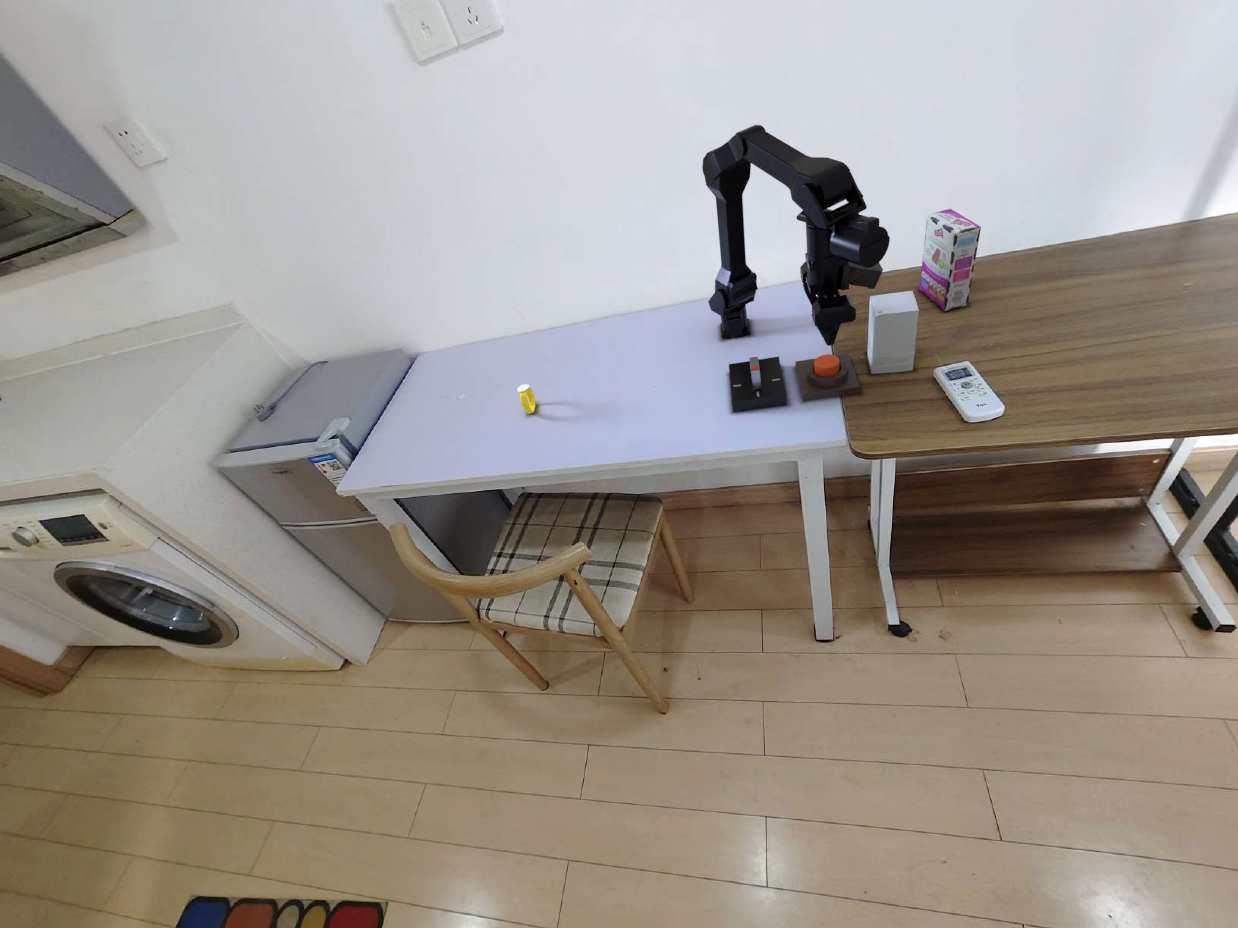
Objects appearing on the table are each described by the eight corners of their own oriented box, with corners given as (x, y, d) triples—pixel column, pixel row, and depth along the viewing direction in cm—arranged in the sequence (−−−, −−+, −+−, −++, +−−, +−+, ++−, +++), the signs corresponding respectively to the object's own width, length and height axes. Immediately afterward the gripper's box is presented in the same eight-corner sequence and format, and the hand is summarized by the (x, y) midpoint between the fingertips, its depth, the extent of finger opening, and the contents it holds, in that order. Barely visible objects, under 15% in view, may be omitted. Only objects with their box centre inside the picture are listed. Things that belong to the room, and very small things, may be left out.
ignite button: (812, 365, 111) (812, 356, 109) (837, 361, 110) (837, 352, 108) (816, 378, 107) (816, 369, 106) (841, 375, 106) (841, 366, 105)
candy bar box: (969, 306, 117) (983, 226, 106) (944, 312, 117) (955, 233, 107) (941, 283, 125) (951, 207, 115) (918, 289, 126) (925, 214, 115)
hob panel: (730, 374, 120) (728, 363, 119) (779, 366, 118) (778, 355, 116) (733, 412, 111) (731, 402, 109) (786, 405, 109) (786, 394, 107)
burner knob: (751, 376, 114) (749, 356, 111) (759, 375, 113) (757, 355, 110) (753, 390, 110) (750, 370, 107) (761, 389, 110) (759, 369, 107)
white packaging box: (913, 371, 107) (920, 310, 99) (870, 374, 109) (872, 315, 101) (908, 349, 112) (913, 289, 104) (866, 352, 114) (869, 294, 106)
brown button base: (795, 368, 116) (794, 353, 114) (848, 360, 114) (848, 345, 112) (803, 401, 108) (802, 386, 106) (859, 393, 106) (860, 378, 104)
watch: (536, 416, 127) (527, 394, 123) (524, 418, 127) (515, 397, 124) (539, 400, 131) (530, 379, 128) (528, 402, 132) (518, 381, 128)
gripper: (893, 265, 84) (887, 355, 95) (866, 217, 98) (863, 300, 108) (814, 280, 87) (816, 365, 97) (798, 231, 101) (801, 311, 111)
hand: (826, 333), depth 103 cm, fingers open, 7 cm apart
